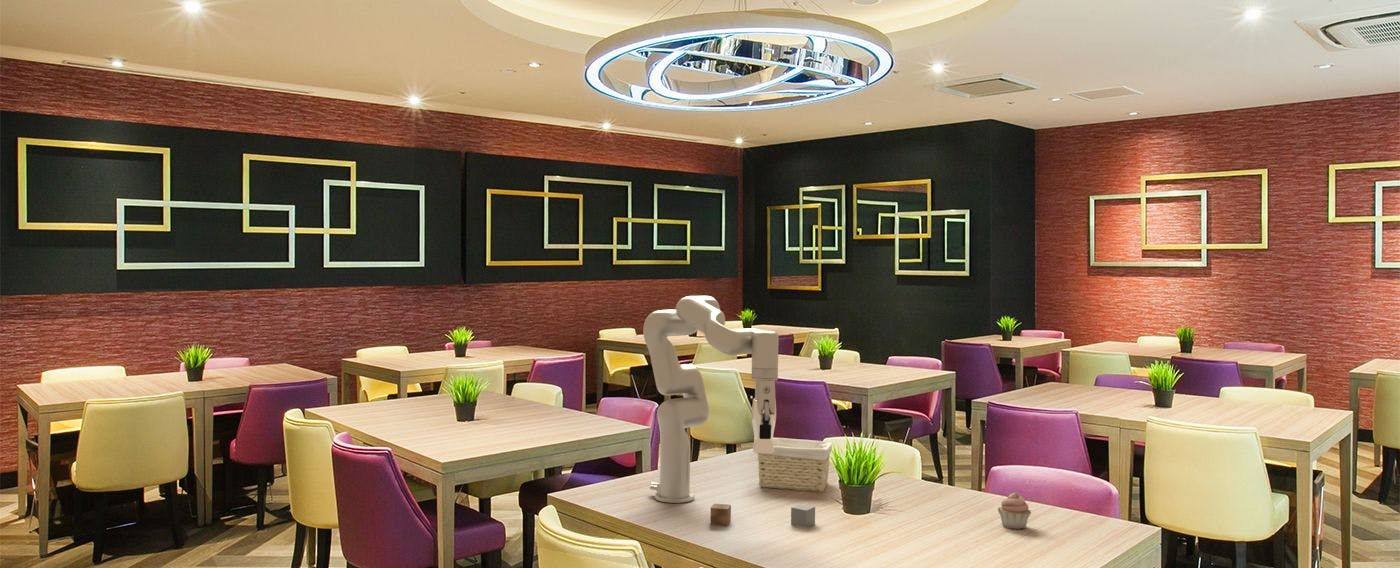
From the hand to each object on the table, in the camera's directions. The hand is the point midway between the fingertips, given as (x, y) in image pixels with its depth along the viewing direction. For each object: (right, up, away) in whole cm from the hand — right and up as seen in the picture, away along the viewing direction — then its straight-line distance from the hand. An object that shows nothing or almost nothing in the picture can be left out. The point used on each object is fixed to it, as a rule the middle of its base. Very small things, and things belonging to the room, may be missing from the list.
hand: (763, 435), depth 262 cm
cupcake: (+72, -27, +1) cm, 77 cm away
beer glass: (0, -5, 0) cm, 5 cm away
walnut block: (-12, -25, +1) cm, 28 cm away
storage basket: (+14, -25, +48) cm, 56 cm away
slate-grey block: (+11, -26, +1) cm, 28 cm away
